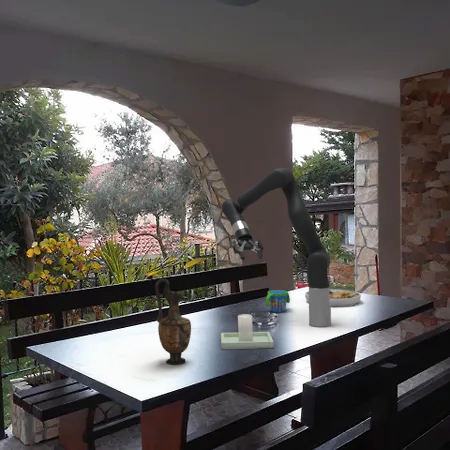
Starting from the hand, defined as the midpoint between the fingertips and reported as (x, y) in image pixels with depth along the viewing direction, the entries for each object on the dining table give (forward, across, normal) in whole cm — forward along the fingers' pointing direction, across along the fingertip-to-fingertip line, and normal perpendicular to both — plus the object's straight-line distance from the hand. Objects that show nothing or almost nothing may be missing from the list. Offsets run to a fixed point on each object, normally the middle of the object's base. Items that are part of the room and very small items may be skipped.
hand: (252, 258), depth 229 cm
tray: (+40, -16, +3) cm, 43 cm away
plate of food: (+3, +61, +41) cm, 74 cm away
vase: (+47, -48, -4) cm, 68 cm away
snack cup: (+8, +23, +36) cm, 43 cm away
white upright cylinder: (+39, -16, +2) cm, 42 cm away
